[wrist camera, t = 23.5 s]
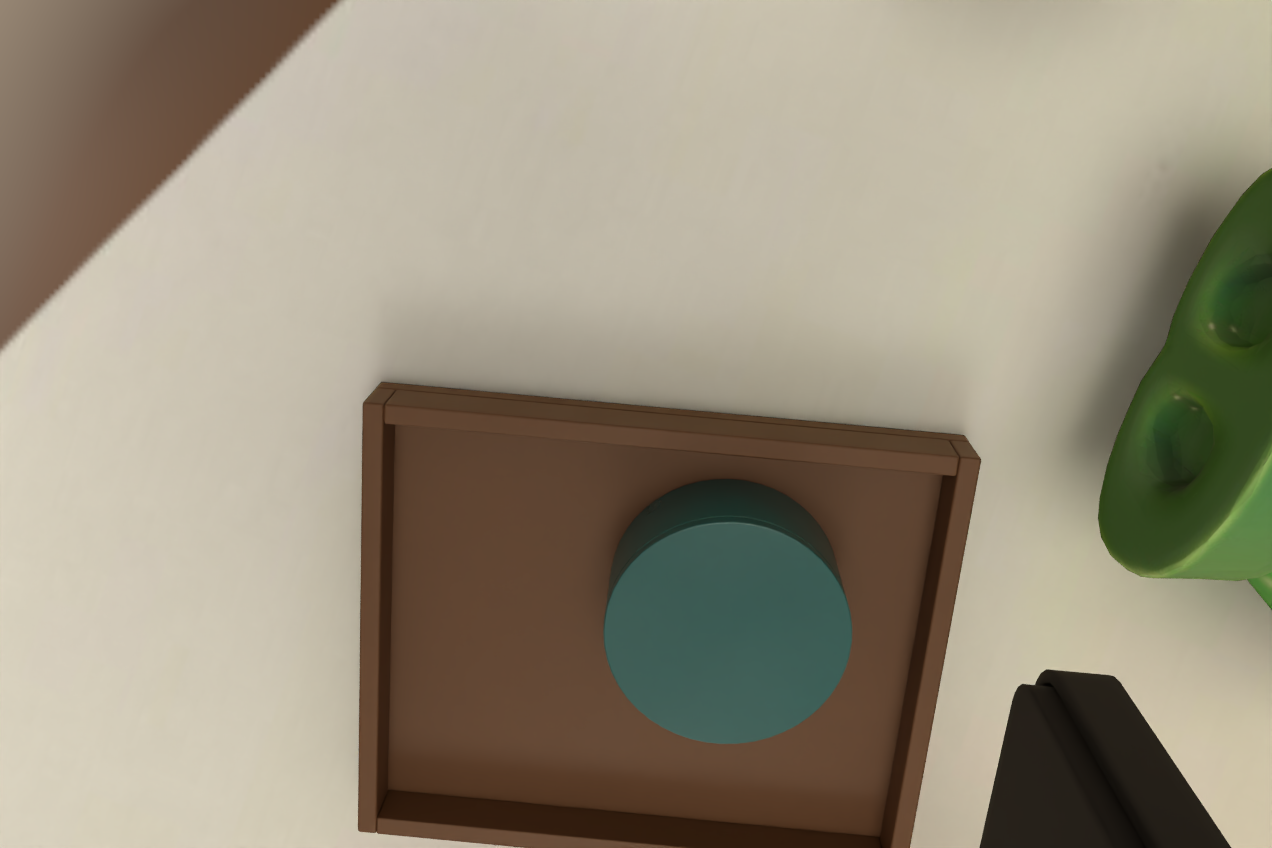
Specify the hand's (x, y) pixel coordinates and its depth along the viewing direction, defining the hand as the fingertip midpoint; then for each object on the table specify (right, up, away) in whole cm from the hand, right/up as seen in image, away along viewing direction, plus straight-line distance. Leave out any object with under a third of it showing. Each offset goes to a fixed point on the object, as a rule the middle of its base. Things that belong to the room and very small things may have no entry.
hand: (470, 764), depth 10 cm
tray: (+2, -3, +27) cm, 27 cm away
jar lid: (+4, -2, +26) cm, 26 cm away
